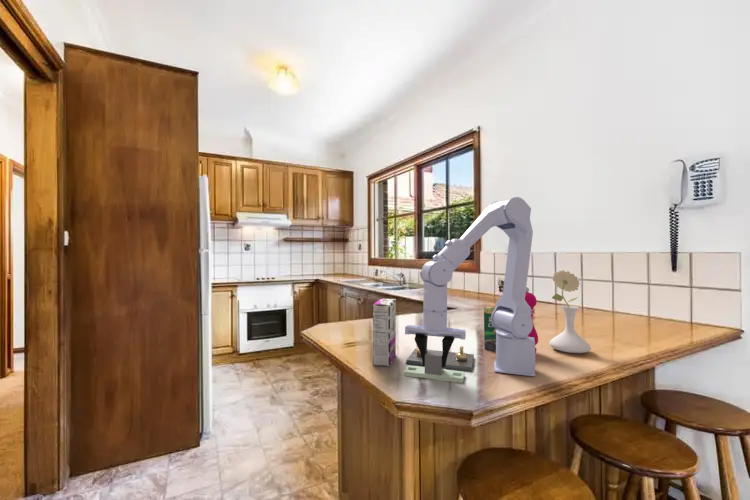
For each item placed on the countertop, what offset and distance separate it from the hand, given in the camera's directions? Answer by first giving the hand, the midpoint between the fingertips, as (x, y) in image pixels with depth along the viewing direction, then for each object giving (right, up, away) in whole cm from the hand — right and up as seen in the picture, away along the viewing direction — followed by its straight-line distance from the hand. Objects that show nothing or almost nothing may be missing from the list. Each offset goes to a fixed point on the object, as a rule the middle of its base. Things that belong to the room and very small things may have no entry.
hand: (434, 365), depth 86 cm
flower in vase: (+46, -3, +24) cm, 52 cm away
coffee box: (+23, -3, +23) cm, 33 cm away
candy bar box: (-12, -3, +12) cm, 17 cm away
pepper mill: (+31, -3, +21) cm, 37 cm away
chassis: (+4, -3, +12) cm, 13 cm away
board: (0, -2, 0) cm, 2 cm away
